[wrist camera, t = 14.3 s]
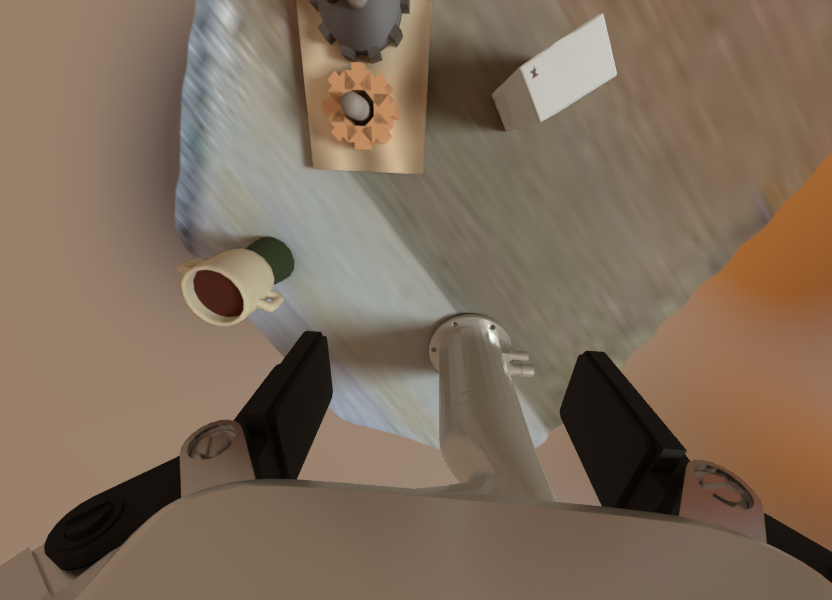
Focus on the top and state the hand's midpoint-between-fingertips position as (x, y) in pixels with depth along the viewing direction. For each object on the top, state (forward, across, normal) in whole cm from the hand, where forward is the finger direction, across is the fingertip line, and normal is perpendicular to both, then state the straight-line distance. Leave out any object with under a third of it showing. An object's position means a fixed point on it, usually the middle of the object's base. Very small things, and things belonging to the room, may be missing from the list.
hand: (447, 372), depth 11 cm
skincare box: (+30, -8, -13) cm, 34 cm away
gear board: (+30, +9, -15) cm, 35 cm away
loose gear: (+29, +9, -11) cm, 32 cm away
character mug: (+30, +23, +7) cm, 39 cm away
